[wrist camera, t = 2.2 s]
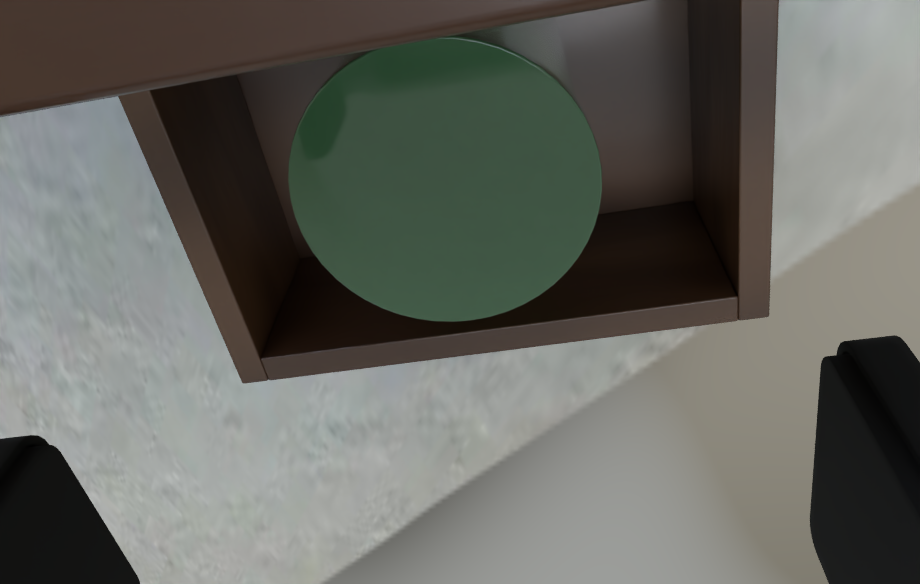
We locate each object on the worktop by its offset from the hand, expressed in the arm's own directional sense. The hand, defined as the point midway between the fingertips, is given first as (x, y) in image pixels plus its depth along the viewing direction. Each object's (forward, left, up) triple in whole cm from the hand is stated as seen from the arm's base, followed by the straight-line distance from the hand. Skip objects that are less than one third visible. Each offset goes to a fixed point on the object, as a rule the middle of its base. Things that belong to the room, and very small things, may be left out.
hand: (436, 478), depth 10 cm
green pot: (0, 0, -16) cm, 16 cm away
